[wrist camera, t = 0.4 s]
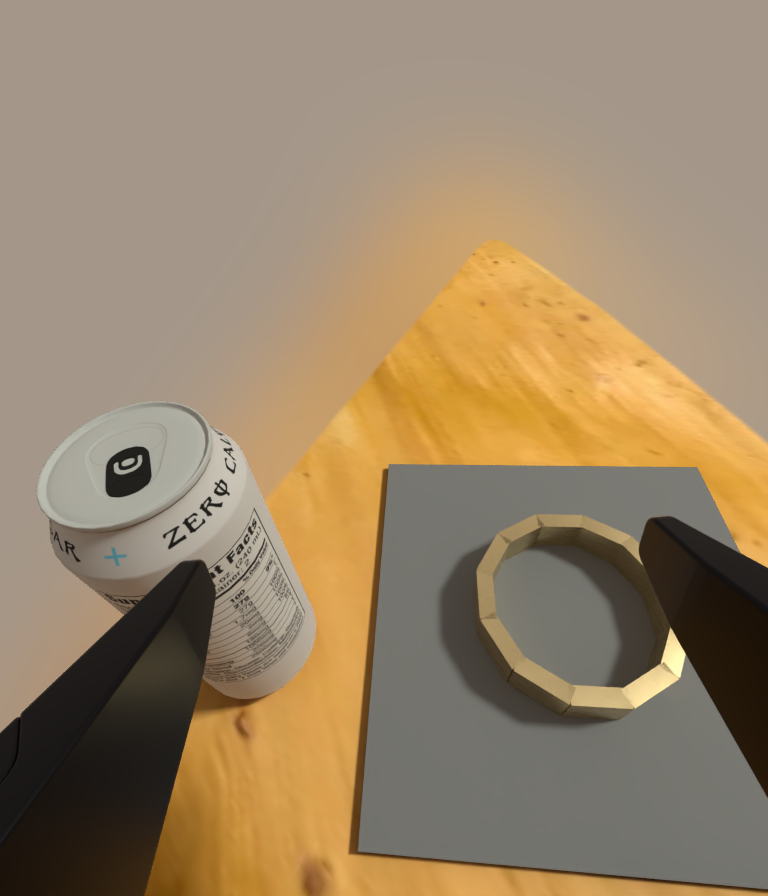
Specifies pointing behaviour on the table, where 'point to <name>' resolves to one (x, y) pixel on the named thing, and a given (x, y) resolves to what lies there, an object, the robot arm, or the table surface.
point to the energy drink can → (180, 535)
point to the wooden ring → (537, 679)
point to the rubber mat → (526, 721)
